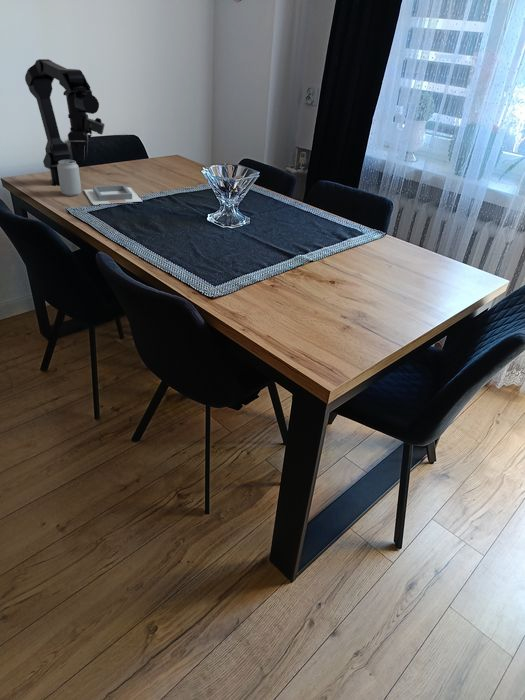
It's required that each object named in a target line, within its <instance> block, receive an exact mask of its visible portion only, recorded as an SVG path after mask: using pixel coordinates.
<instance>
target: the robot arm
mask: <svg viewBox="0 0 525 700" xmlns="http://www.w3.org/2000/svg"><path fill="white" fill-rule="evenodd" d="M24 80H25V83H26V85H27V87H28V90H29V93H31V95H32V96H33V97H34V98H35V99H36V102H37V103H36V104H37V105H38V109H39V113H40V117H41V121H42V124H43V129H44V132H45V136H46V140H47V142H46V144H45V156H44V158H43V166H44V168H46V169H49V171H50V178H51V179H49V181H50V183H51V185H52V186H60V183H59V176H58V169H57V165H58V164H59V163H58V161H60V160H72V157H71V156H72V155H71V153H70V150H69V146H68V143H66V142H64V141H63V140H62V138H61V135H60V131H59V128H58V123H57V119H56V114H55V111H54V108H53V104H52V99H51V95H52V92H53V83H54V80H57V81H58V83H59V85H60V86H61V87H62V88H63V89H64V91H63V96H65V97H66V103H67V111H68V114H67V116H68V117H67V118H68V119H69V123H70V127H69V130H70V131H69V132H68V134H67V138H68V141H69V144H71V146H72V147H73V149H74V151H75V153H76V155H77V156H78V158H79V160H80V161H81V162H84V161H85V157H87V156H88V147H89V146H88V143H89V139H90V138H91V137H92V134H93V132H95V133H96V134H98V135H103V133H104V128H105V123H103V122H102V119H101V118H99V117H96V118H95V119H91V118H89V115H88V114H93V115H94V114H96V113H97V112H98V111H99V108H100V103H99V100H98V99H97V97H96V96H95V95H93V91H92V89H91V86H90V84H89V82H88V80H87V79H86V76H85V75H84V73H83V72H82V70H80V69H77V68H76V69H75V68H67V67H64V66H62V65H60V64H57V63H56V62H54V61H52V60H51V59H49V58H46V59H45V58H44V59H41V58H40V59H39V58H38V59H36V60H35V63H34V64H33V65H32V66H30V67H28V69H27V70H26V72H25V75H24Z"/></svg>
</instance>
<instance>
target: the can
mask: <svg viewBox="0 0 525 700" xmlns="http://www.w3.org/2000/svg"><path fill="white" fill-rule="evenodd" d="M58 163H59V164H58V165H57V169H58V176H59V183H60V185H59V189H60V193H61V194H63V196H67V197H76V196H78V195H80V194H81V193H82V185H81V183H82V182H81V178H80V177H81V176H80V169H79V168H80V167H79V165H78V164H77V161H76V160H73V159H71V160H60V161H58Z"/></svg>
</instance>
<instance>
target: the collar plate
mask: <svg viewBox="0 0 525 700" xmlns="http://www.w3.org/2000/svg"><path fill="white" fill-rule="evenodd" d="M83 192H84V193H85V195H86V197H87V198H88V200H89V201H90V203H91V204H93V205H99V204H111V203H127V202H142V203H143V200H142V199H141V198H140V197H139V196H138V194H137V193H136V192H135V191H134V190H133V188H132V187H130V186H129V187H127V186H126V185H125V184H115V185H114V184H112V185H95V186H92V188H91V189H90V188H89V189H83ZM93 205H92V206H93Z"/></svg>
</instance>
